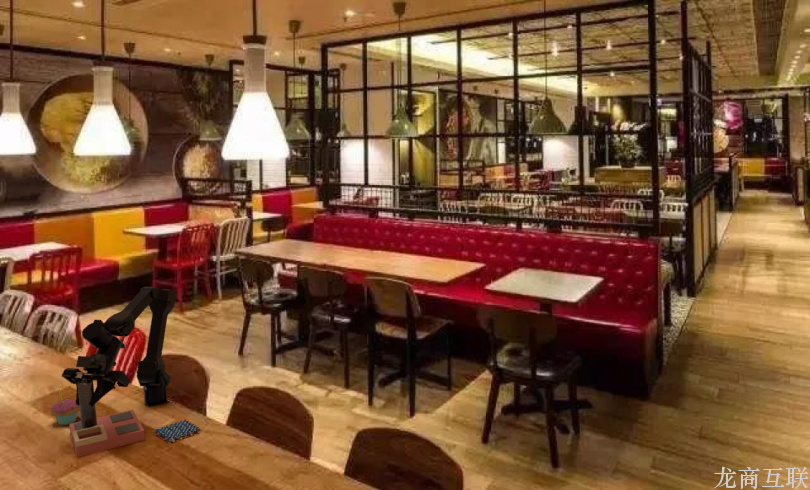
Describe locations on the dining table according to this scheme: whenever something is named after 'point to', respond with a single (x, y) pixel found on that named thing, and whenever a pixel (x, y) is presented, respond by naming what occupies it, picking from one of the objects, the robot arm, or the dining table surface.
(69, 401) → the cupcake
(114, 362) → the robot arm
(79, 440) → the pink control box
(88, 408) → the stool leg
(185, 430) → the woven mat
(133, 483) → the dining table surface
